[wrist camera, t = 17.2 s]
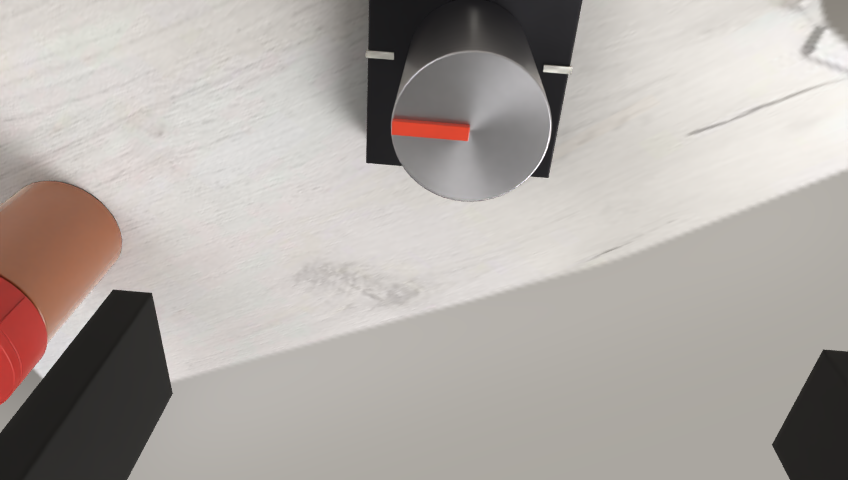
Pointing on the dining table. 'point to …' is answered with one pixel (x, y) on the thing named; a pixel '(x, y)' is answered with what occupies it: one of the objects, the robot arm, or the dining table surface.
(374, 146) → the panel
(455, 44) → the dial
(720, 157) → the dining table surface
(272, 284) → the dining table surface
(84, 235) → the jar
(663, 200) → the dining table surface
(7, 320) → the lid
